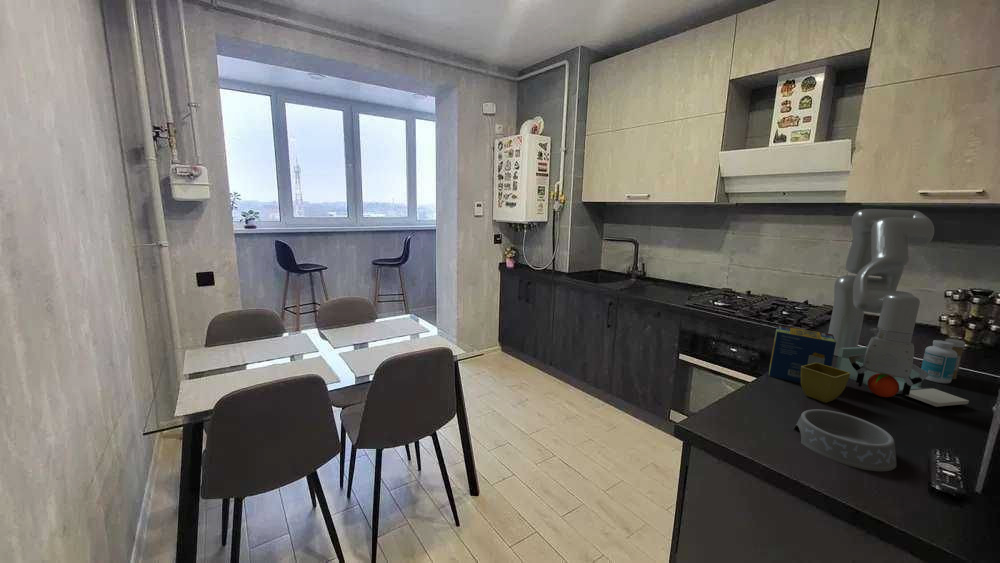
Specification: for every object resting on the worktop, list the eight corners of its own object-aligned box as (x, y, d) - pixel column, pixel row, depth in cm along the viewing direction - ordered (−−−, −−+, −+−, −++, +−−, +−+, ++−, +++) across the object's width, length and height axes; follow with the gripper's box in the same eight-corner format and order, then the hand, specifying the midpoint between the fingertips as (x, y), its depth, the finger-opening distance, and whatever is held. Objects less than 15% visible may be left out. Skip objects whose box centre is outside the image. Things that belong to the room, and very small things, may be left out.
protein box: (769, 367, 140) (776, 324, 138) (824, 379, 132) (833, 334, 129) (768, 376, 132) (775, 331, 129) (827, 389, 123) (837, 341, 121)
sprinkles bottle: (957, 378, 140) (966, 341, 137) (954, 380, 137) (964, 343, 135) (938, 373, 143) (947, 337, 141) (935, 375, 141) (944, 339, 139)
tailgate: (898, 389, 121) (936, 403, 112) (929, 386, 124) (969, 400, 115) (897, 392, 121) (935, 406, 112) (929, 389, 124) (968, 403, 116)
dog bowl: (807, 457, 87) (811, 434, 86) (786, 419, 103) (790, 400, 102) (910, 482, 80) (917, 457, 79) (871, 437, 96) (876, 417, 95)
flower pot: (829, 407, 111) (835, 377, 109) (794, 394, 118) (800, 365, 117) (845, 402, 115) (851, 372, 113) (810, 390, 122) (815, 362, 121)
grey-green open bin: (834, 372, 139) (839, 347, 137) (863, 370, 142) (868, 346, 140) (892, 394, 122) (898, 366, 121) (923, 392, 126) (930, 364, 124)
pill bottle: (943, 378, 139) (952, 341, 136) (956, 386, 132) (966, 347, 130) (914, 373, 142) (923, 337, 139) (925, 381, 135) (935, 342, 133)
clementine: (887, 403, 116) (892, 380, 115) (858, 393, 122) (863, 371, 121) (901, 399, 119) (906, 376, 118) (872, 389, 125) (877, 368, 124)
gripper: (853, 330, 121) (842, 384, 124) (936, 346, 109) (922, 405, 111) (855, 327, 126) (845, 378, 129) (936, 341, 114) (922, 397, 117)
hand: (881, 390), depth 120 cm, fingers open, 9 cm apart
